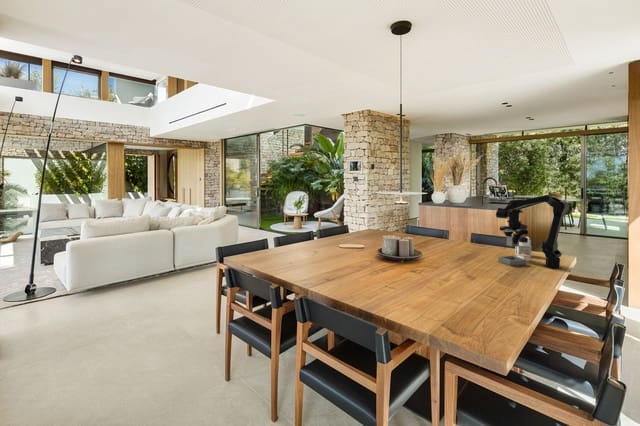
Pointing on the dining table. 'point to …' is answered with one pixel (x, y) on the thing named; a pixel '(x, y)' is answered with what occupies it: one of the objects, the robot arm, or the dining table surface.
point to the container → (523, 246)
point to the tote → (512, 261)
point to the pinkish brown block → (524, 256)
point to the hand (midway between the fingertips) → (512, 243)
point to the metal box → (511, 241)
